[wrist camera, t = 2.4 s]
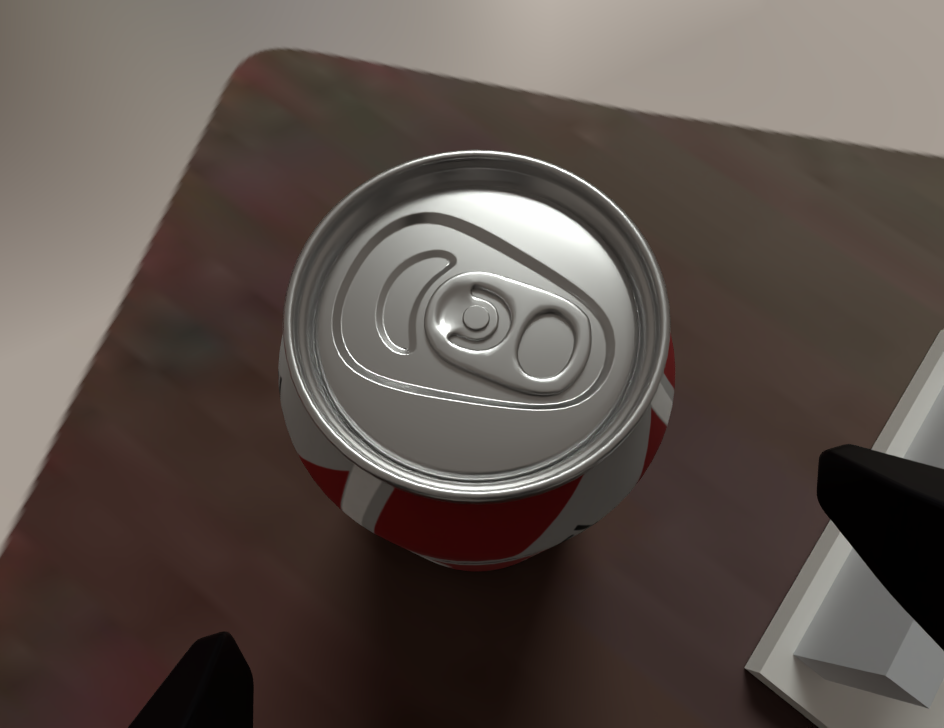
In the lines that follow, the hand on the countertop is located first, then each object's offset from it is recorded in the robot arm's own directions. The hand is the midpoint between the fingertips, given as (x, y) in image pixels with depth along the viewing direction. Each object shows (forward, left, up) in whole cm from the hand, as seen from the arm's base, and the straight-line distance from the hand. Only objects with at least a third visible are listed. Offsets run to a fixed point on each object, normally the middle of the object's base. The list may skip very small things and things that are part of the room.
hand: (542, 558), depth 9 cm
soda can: (+3, 0, -11) cm, 11 cm away
